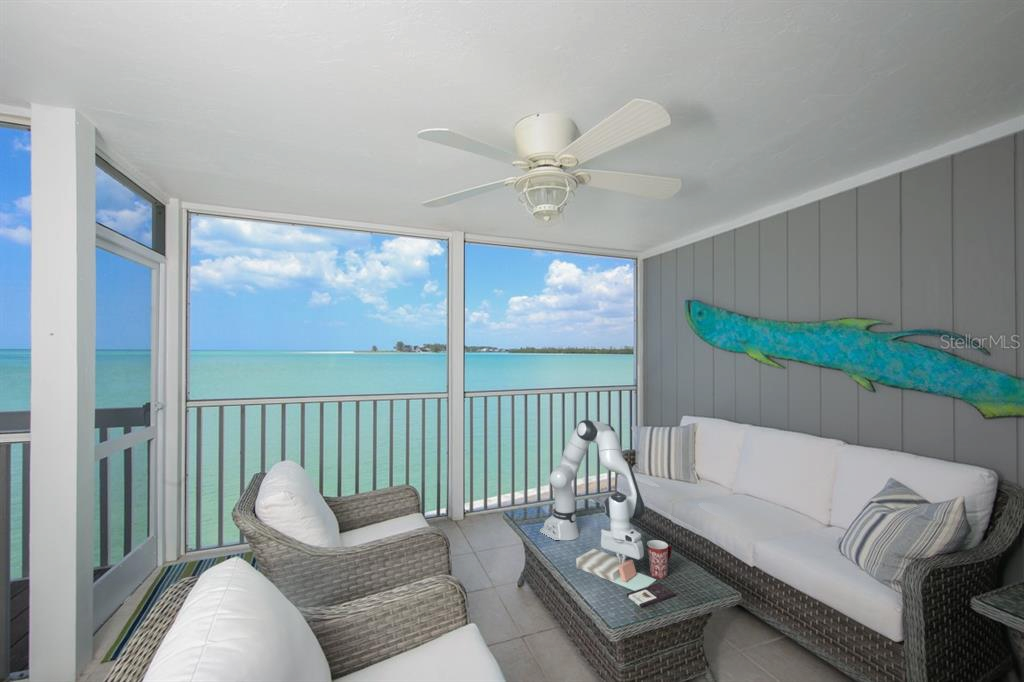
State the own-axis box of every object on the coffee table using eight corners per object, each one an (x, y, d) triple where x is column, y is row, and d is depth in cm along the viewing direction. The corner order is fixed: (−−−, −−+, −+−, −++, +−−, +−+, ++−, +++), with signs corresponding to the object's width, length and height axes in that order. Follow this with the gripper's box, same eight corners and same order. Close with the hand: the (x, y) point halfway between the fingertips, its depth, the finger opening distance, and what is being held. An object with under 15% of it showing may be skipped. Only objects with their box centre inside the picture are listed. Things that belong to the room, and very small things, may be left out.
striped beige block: (576, 567, 205) (576, 558, 206) (593, 556, 215) (593, 548, 215) (613, 582, 191) (612, 573, 191) (629, 570, 201) (629, 561, 201)
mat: (611, 581, 192) (611, 580, 192) (628, 569, 202) (627, 568, 202) (640, 593, 182) (640, 592, 182) (656, 580, 192) (656, 579, 192)
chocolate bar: (675, 593, 179) (641, 605, 171) (675, 596, 179) (641, 608, 171) (659, 582, 187) (626, 593, 179) (659, 584, 187) (626, 595, 179)
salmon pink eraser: (618, 567, 192) (622, 567, 191) (628, 559, 199) (632, 559, 197) (622, 581, 191) (626, 581, 190) (632, 573, 197) (636, 573, 196)
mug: (658, 581, 191) (657, 550, 191) (643, 572, 199) (642, 542, 199) (679, 574, 196) (678, 543, 197) (664, 565, 204) (663, 536, 205)
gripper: (597, 528, 202) (598, 558, 201) (637, 540, 187) (639, 572, 187) (604, 524, 206) (606, 554, 205) (644, 535, 192) (646, 567, 191)
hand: (622, 563), depth 196 cm, fingers closed
